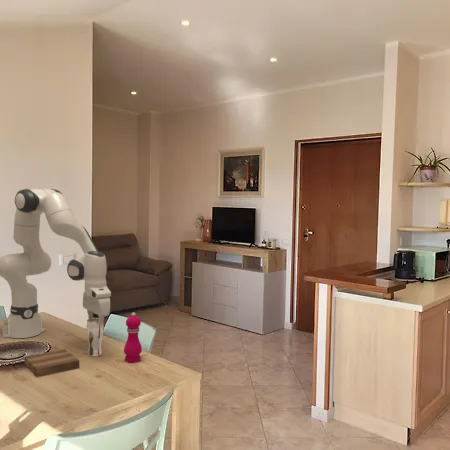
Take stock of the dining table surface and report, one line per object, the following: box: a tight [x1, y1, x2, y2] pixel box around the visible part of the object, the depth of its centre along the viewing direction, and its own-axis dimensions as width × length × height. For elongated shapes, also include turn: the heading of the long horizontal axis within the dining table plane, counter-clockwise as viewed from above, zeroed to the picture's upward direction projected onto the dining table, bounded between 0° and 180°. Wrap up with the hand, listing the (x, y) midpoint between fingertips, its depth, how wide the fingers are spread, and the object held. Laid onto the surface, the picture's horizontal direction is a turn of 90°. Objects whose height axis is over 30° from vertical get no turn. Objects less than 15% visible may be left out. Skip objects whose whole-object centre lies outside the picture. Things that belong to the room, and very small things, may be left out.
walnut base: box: [24, 348, 80, 378], centre depth 183 cm, size 16×16×3 cm
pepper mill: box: [123, 312, 143, 364], centre depth 191 cm, size 7×7×20 cm
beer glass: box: [85, 317, 104, 358], centre depth 197 cm, size 7×7×15 cm
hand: (95, 322), depth 196 cm, fingers open, 8 cm apart
